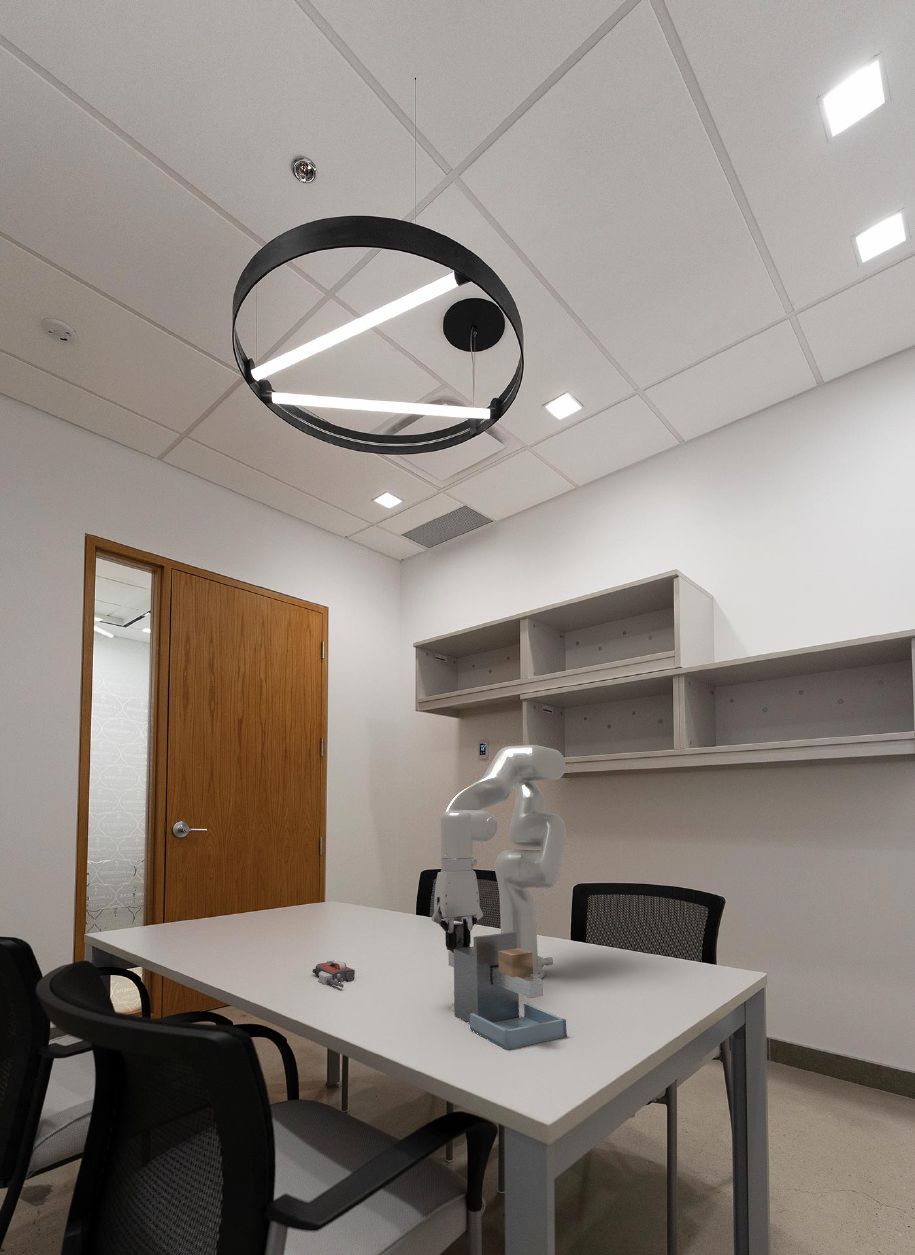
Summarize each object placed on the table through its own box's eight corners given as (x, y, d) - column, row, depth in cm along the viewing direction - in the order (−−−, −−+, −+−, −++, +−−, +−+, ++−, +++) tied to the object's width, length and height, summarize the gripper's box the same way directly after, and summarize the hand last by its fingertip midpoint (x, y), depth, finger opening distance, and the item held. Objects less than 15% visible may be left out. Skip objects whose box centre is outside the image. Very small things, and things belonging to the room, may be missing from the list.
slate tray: (527, 1019, 149) (527, 1003, 150) (566, 1036, 138) (566, 1019, 139) (470, 1030, 143) (469, 1013, 143) (506, 1049, 131) (505, 1031, 132)
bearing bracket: (494, 1008, 157) (492, 926, 161) (519, 1020, 149) (516, 932, 153) (454, 1015, 152) (453, 930, 156) (478, 1028, 144) (476, 937, 148)
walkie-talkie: (304, 977, 189) (338, 993, 173) (305, 959, 190) (338, 973, 174) (334, 972, 194) (370, 987, 178) (335, 954, 195) (370, 968, 179)
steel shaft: (459, 963, 165) (459, 922, 167) (543, 996, 137) (541, 946, 139) (448, 965, 164) (448, 923, 166) (530, 998, 136) (528, 947, 138)
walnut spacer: (519, 969, 146) (518, 948, 147) (533, 974, 142) (532, 952, 143) (498, 972, 144) (498, 951, 145) (512, 977, 140) (511, 955, 140)
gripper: (478, 862, 175) (480, 943, 170) (418, 866, 167) (419, 950, 163) (494, 864, 168) (497, 948, 164) (433, 869, 161) (433, 956, 156)
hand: (458, 948), depth 163 cm, fingers closed on steel shaft, 3 cm apart
